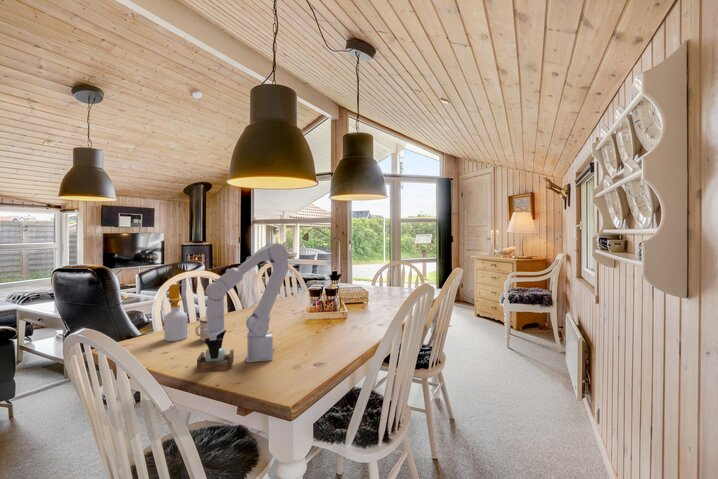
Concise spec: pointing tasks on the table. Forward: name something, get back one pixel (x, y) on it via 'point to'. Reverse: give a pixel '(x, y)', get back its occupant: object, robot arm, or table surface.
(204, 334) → the beige mug
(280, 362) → the table surface
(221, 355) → the roll
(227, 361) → the holder
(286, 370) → the table surface
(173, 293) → the soap bottle
